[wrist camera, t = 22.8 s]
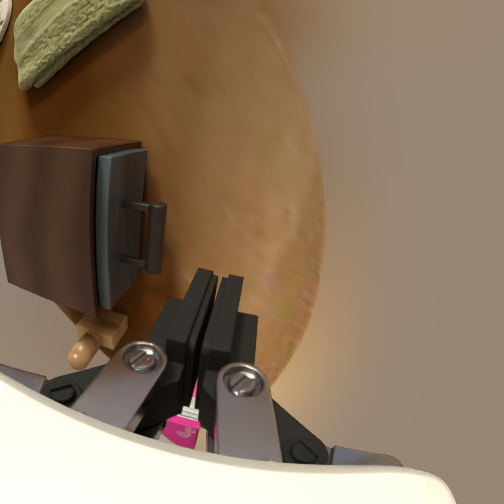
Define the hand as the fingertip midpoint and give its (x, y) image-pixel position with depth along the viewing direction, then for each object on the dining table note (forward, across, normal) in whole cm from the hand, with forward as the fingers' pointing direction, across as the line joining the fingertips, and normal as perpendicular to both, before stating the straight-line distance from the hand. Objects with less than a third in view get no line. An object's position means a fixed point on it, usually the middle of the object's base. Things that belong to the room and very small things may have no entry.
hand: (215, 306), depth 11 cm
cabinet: (+18, +17, +4) cm, 25 cm away
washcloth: (+18, +23, -18) cm, 35 cm away
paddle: (+17, +14, +18) cm, 29 cm away
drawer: (+17, +14, +4) cm, 22 cm away
